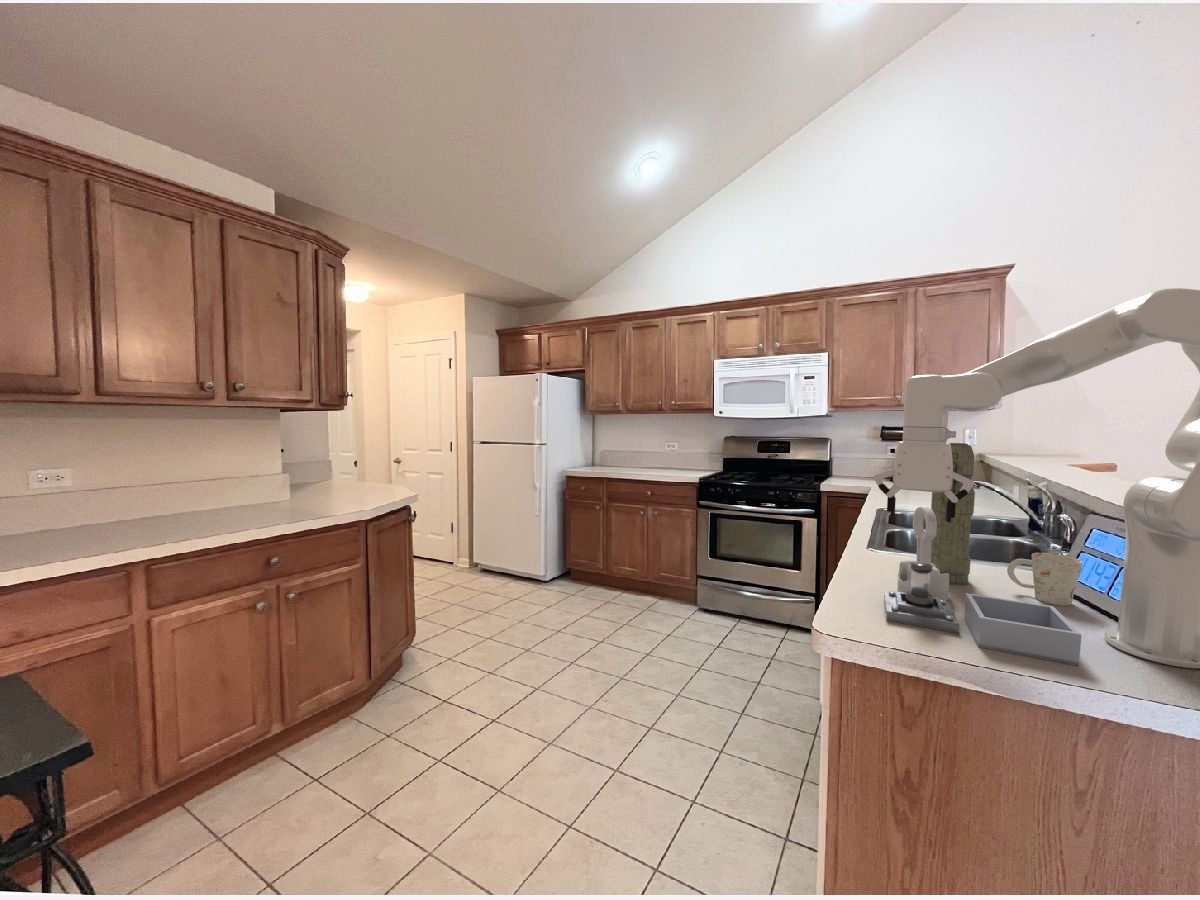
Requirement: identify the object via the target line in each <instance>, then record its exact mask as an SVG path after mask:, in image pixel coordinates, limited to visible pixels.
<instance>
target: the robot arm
mask: <svg viewBox="0 0 1200 900" xmlns="http://www.w3.org/2000/svg"><path fill="white" fill-rule="evenodd" d="M1164 342H1171V343H1176V344H1180V346H1181V349H1182V351H1183V353H1184V354H1185V355H1186V357H1187V358H1188V359H1190V361H1191V362H1192V363H1193V365H1194V366H1195V367H1196V369H1197V371H1198V373H1199V374H1200V289H1193V288H1183V287H1182V288H1177V287H1176V288H1174V287H1173V288H1163V289H1160V290H1155V291H1153V292H1150V293H1147V294H1145V295H1142V296H1139V297H1136V298H1133V299H1131V300H1128V301H1125V302H1123V303H1120V304H1118V305H1115V306H1113V307H1111V308H1108V309H1107V310H1105V311H1102V312H1100V313H1098V314H1095V315H1092V316H1091V317H1088V318H1086V319H1084V320H1082V321H1079V322H1077V323H1075V324H1073V325H1069V326H1068V327H1065V328H1063V329H1061V330H1058V331H1056V332H1053V333H1051V334H1049V335H1046V336H1045V337H1042V338H1040V339H1037V340H1035V341H1034V342H1032V343H1030V344H1027V345H1025V346H1024V347H1022V348H1021V349H1018V350H1015V351H1014V352H1011V353H1009V354H1007V355H1005V356H1003V357H1001V358H997V359H996V360H994V361H990V362H989V363H986V364H984V365H982V366H979V367H977V368H975V369H973V370H970V371H968V372H966V373H963V374H962V373H961V374H955V375H954V374H953V375H942V374H922V375H921V374H919V375H913V376H911V377H909V378H908V379H907V380H906V383H905V393H904V395H905V396H904V410H903V412H904V413H903V427H902V428H903V429H902V441H898V442H897V445H896V449H895V453H894V461H893V467H892V468H889V469H887V470H884V471H882V472H878V473H876V474H874V476H873V480H874V481H875V483H876V485H877V486H878V489H879V490H880V491H881V492H882V493H883V494H884V495H885V496H886V497H887V498H886V499H887V503H886V512H887V513H888V512H889V513H890V515H889V516H890V517H892V518H893V517H895V516H896V515H895V514H896V502H897V501H896V496H895V495H896V494H897V493H898V492H899V491H901V490H905V491H914V492H915V491H917V492H931V493H932V492H943V493H944V494H945V495H946V496H947V497H948V500H947V501H946V506H945V520H946V521H947V522H951V518H955V508H956V503H957V502H958V501H959V500H960V499H962V498H963V497H965V496H966V495H967V494H968V492H969V491H970V490H971V488H972V487H973V488H974V485H975V484H976V483H975V482H974V480H973V479H972V480H970V479H967V478H965V477H963V476H961V475H959V474H957V473H955V472H953V461H952V451H951V445H950V443H951V442H948V440H950V439H951V438H954V439H955V438H956V437H957V431H956V430H950V428H948V427H949V426H948V424H949V414H950V413H949V411H950V410H954V411H957V412H969V413H971V412H972V413H973V412H974V413H976V412H982V411H986V410H989V409H991V408H993V407H996V405H997V404H998V403H999V402H1000V401H1001V400H1002V398H1003V397H1006V396H1009V395H1012V394H1015V393H1017V392H1020V391H1023V390H1026V389H1028V388H1030V389H1031V388H1033V387H1036V386H1040V385H1044V384H1045V385H1046V384H1051V383H1054V382H1058V381H1062V380H1064V379H1068V378H1071V377H1074V376H1076V375H1079V374H1081V373H1084V372H1087V371H1088V370H1091V369H1094V368H1096V367H1098V366H1101V365H1104V364H1105V363H1108V362H1110V361H1111V362H1112V361H1113V360H1116V359H1118V358H1121V357H1123V356H1126V355H1128V354H1130V353H1133V352H1136V351H1138V350H1141V349H1144V348H1146V347H1149V346H1152V345H1155V344H1160V343H1164ZM1164 452H1165V456H1166V458H1167V460H1168V461H1169V462H1170V463H1171V464H1172V465H1174V466H1175V467H1177V468H1179V469H1182V470H1184V471H1186V472H1189V474H1188V476H1187V477H1186V478H1185V477H1178V476H1172V475H1171V476H1169V475H1158V476H1150V477H1146V478H1143V479H1142V480H1139V481H1137V482H1135V483H1134V484H1132V486H1130V488H1128V490H1127V491H1126V493H1125V495H1124V498H1123V504H1122V507H1123V510H1122V511H1123V518H1124V519H1123V520H1124V525H1125V526H1124V527H1125V551H1124V561H1123V571H1122V581H1121V588H1120V589H1121V590H1120V591H1121V592H1120V603H1119V611H1118V612H1119V613H1118V622H1117V629H1109V630H1107V631H1104V640H1105V641H1106V642H1107V643H1108V644H1109V645H1110V646H1112V647H1114V648H1116V649H1118V650H1121V651H1123V652H1124V653H1127V654H1130V655H1132V656H1135V657H1138V658H1141V659H1144V660H1148V661H1150V662H1151V661H1152V662H1155V663H1159V664H1163V665H1168V666H1173V667H1179V668H1185V669H1200V387H1199V389H1198V391H1197V393H1196V395H1195V397H1194V398H1193V401H1192V402H1191V404H1190V406H1189V407H1188V409H1187V410H1186V412H1185V413H1184V415H1183V417H1182V418H1181V420H1180V422H1179V423H1178V425H1177V427H1176V428H1175V430H1174V431H1173V432H1172V434H1171V436H1170V437H1169V439H1168V441H1167V443H1166V444H1165V451H1164ZM890 476H892V484H893V485H892V486H891V487H890V488H889V487H888V486H887V485H886V484H885V483H884V481H883V480H884V479H885V478H888V477H890ZM953 479H955V480H957V481H959V482H961V483H963V487H962V488H961V489H960V490H959V491H957V492H956V493H954V494H953V493H952V492H951V488H952V482H953Z"/></svg>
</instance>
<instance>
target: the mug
mask: <svg viewBox="0 0 1200 900" xmlns="http://www.w3.org/2000/svg"><path fill="white" fill-rule="evenodd" d="M1020 565H1027V566H1031V567H1032V577H1033V584H1028V583H1023V582H1022V581H1021V580H1019V579H1018V578H1017V577H1016V574H1015V569H1016V568H1017V567H1018V566H1020ZM1082 567H1083V561H1081V559H1079V558H1075V557H1072V556H1068V555H1064V554H1063V555H1062V554H1058V553H1049V552H1034V553H1032V554H1031V559H1025V558H1016V559H1014V560H1013V561H1011V562H1010V563H1009V564H1008V566H1007V569H1006V570H1007V571H1006V573H1007V575H1008V578H1009V579H1010V580H1011V581H1012V582H1013V583H1015V584H1016V585H1018V586H1019V587H1022V588H1025V589H1032V590H1034V597H1035V599H1036V600H1039V601H1040V602H1043V603H1046V604H1051V605H1056V606H1068V607H1069V606H1070V605H1072V603H1073V598H1074V595H1075V592H1076V589H1077V584H1078V581H1079V578H1080V574H1081V569H1082Z"/></svg>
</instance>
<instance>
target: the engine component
mask: <svg viewBox="0 0 1200 900" xmlns="http://www.w3.org/2000/svg"><path fill="white" fill-rule="evenodd" d="M924 520H925V530H924ZM912 530H913V534H914V536H915V537H916V560H903V561H900V563H899V566H898V567H899V569H898V573H897V590H896V591H897V592H898V591H899V592H903V593H906V592H907V591H911V576H912V569H911V568H910V565H911V562H923V563H927V564H930V565H932V572H930V585H929V594H930V595H932V596H933V597H935V598H940V599H941V600H945V601H946V602H948V600H949V594H950V593H949V592H950V591H949V590H950V584H949V573H945V574H940V571H939V570H938V569H937V568H936V565H935V564H933V563H931V541H932V540H933V539H934V537H935V536H936V530H937V522H936V517H935V514H934V512H933V510H932V509H931V507H929V506H927V507H926V506H919V507H917V508H916V509H915V510H914V512H913V515H912Z"/></svg>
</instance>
